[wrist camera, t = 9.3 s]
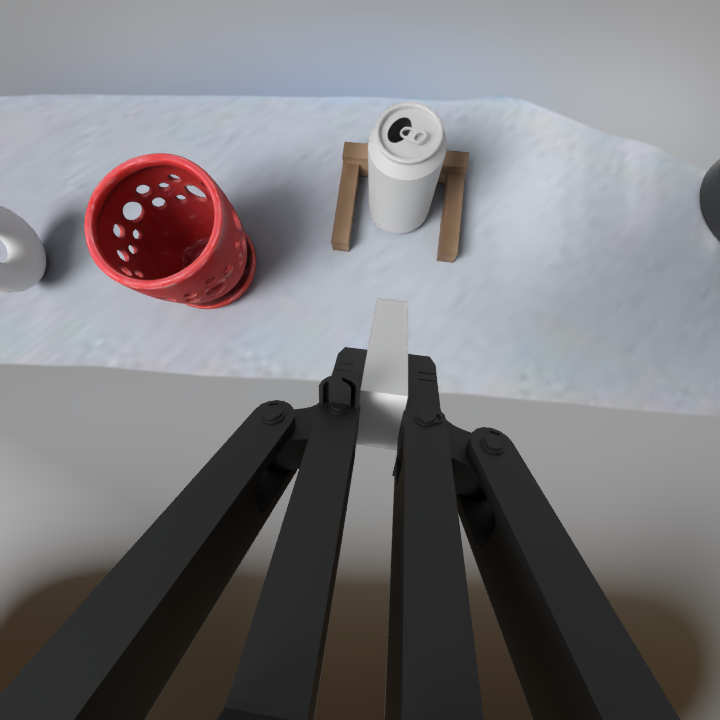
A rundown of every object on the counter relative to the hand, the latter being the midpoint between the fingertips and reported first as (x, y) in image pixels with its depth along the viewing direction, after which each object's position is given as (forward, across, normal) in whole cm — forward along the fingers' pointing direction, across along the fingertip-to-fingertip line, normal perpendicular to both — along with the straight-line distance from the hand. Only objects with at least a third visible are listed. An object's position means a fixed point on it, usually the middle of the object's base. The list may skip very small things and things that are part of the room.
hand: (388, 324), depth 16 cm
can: (+30, 0, -1) cm, 30 cm away
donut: (+21, -45, -10) cm, 51 cm away
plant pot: (+23, -22, -9) cm, 33 cm away
